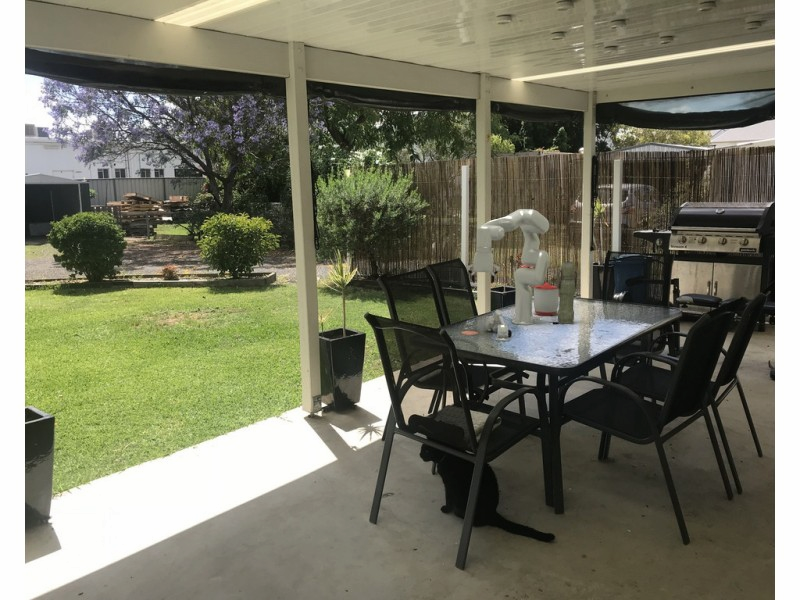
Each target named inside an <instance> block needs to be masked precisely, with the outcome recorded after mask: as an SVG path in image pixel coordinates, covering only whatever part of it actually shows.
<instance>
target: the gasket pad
mask: <svg viewBox="0 0 800 600" xmlns="http://www.w3.org/2000/svg"><path fill="white" fill-rule="evenodd" d="M460 334H462V335H464V336H476V335H478V334H479V332H478V331H474V330H463V331H461V332H460Z"/></svg>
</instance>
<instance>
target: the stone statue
mask: <svg viewBox="0 0 800 600" xmlns="http://www.w3.org/2000/svg"><path fill="white" fill-rule="evenodd" d="M578 280H579V272H578V271H577V270H576V267H575V263H574V262H573V261H563V262H562V263H561V265H560V269H559V270H557V273H556V286H557V289H559V294H560V295H559V303H558V309H557V324H559V325H564V324H571V325H573V324H574V319H575V310H574V302H575V301H574V298H575V293H576V289H577V288H578V286H579V285H578V282H579V281H578Z"/></svg>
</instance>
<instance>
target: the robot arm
mask: <svg viewBox="0 0 800 600" xmlns="http://www.w3.org/2000/svg"><path fill="white" fill-rule="evenodd" d="M519 228H520V230H521V232H522V233H523V237H524V244H523V248H522V252H521V257H520V262H521V264H522V265H523V266H526V267H520V268H517V269H516V270H515V271H514V275H513V276H514V283H515V301H514V302H515V305H514V306H515V307H514V308H515V309H514V319H512V321H511V323H512V324H515V325H521V326H522V325H523V326H528V325H529V326H530V325H533V324H535V322H536V321H541V316H534V315H533V297H534V291H533V290H532V289H533V288H532V287H531V286H533V287H534V286H541V285H543V284H544V282H545V280H546V275H547V272H548V268H549V262H550V256H549V254H548V252H547V251H546V250H541V249H540V245H541V244H540V243H541V241H540V238H539V236H538V234H545V233H547V232H548V231H549V230H550V229H549V228H550V222H549V220H548V218H546V217H545V216H544V215H542V214H541V213H540V212H539V211H538V210H535V209H532V208H529V209H528V208H524V209H523V208H519V209H516V210H515V211H513V212H511V213H509V214H508V215H506V216H504V217H499V218H497V219H493V220H488V221H487V222H485V223H484V224H482V225H481V226H477V229H476V250H475V251H476V252H474V257H473V263H472V264H469V265H467V266H466V269H467V271H468V273H469V274H470V275H471V282H472V284H475V282H476V281H475V280H476V278H475V274H476V273H490V274H491V277H490V278H491V280H490V283H491V284H494V282H495V276H496V275H497V274H498V272H499V271H500V269H501V267H500V266H498V265H496V264H494V255H493V251H495V248H493V247H492V241H499V240H502V239H504V237H505V233H508V232H512V231H514V230H516V229H519ZM531 267H534V268H531ZM471 268H473V271H472V270H471ZM494 269H496V270H495V271H494Z"/></svg>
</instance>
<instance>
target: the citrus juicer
mask: <svg viewBox="0 0 800 600" xmlns="http://www.w3.org/2000/svg"><path fill="white" fill-rule="evenodd" d="M559 296H560V294H559V289H557V285H551V284H550V283H549V282H547V281H546V282H545V283H543V284H542V285H541V286H533V297H532V305H533V308H534V312H535V314H536V315H538V316H540V315H543V316H545V317H546V316H548V315H553V316H555V315H556V313H557V312H558V309H559Z"/></svg>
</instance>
